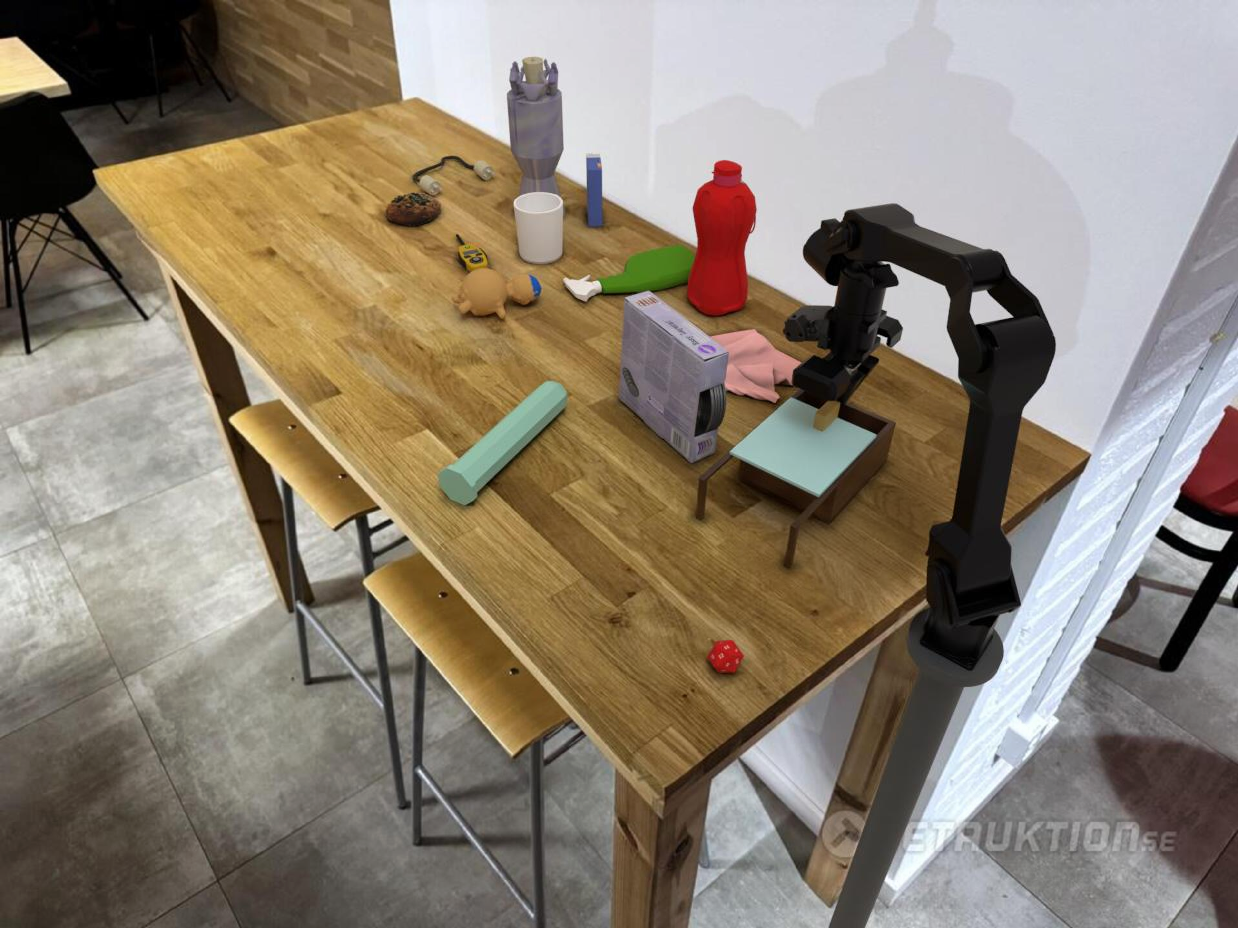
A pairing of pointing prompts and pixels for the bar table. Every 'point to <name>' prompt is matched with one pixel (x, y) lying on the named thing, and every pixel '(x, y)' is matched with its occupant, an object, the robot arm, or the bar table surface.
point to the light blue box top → (804, 445)
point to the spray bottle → (641, 274)
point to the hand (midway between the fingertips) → (838, 406)
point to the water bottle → (721, 241)
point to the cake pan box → (672, 375)
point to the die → (725, 656)
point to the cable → (430, 183)
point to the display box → (836, 493)
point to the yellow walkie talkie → (471, 256)
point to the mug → (539, 227)
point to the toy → (494, 292)
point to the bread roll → (413, 209)
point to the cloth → (755, 365)
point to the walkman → (594, 189)
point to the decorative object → (536, 124)
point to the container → (502, 443)
